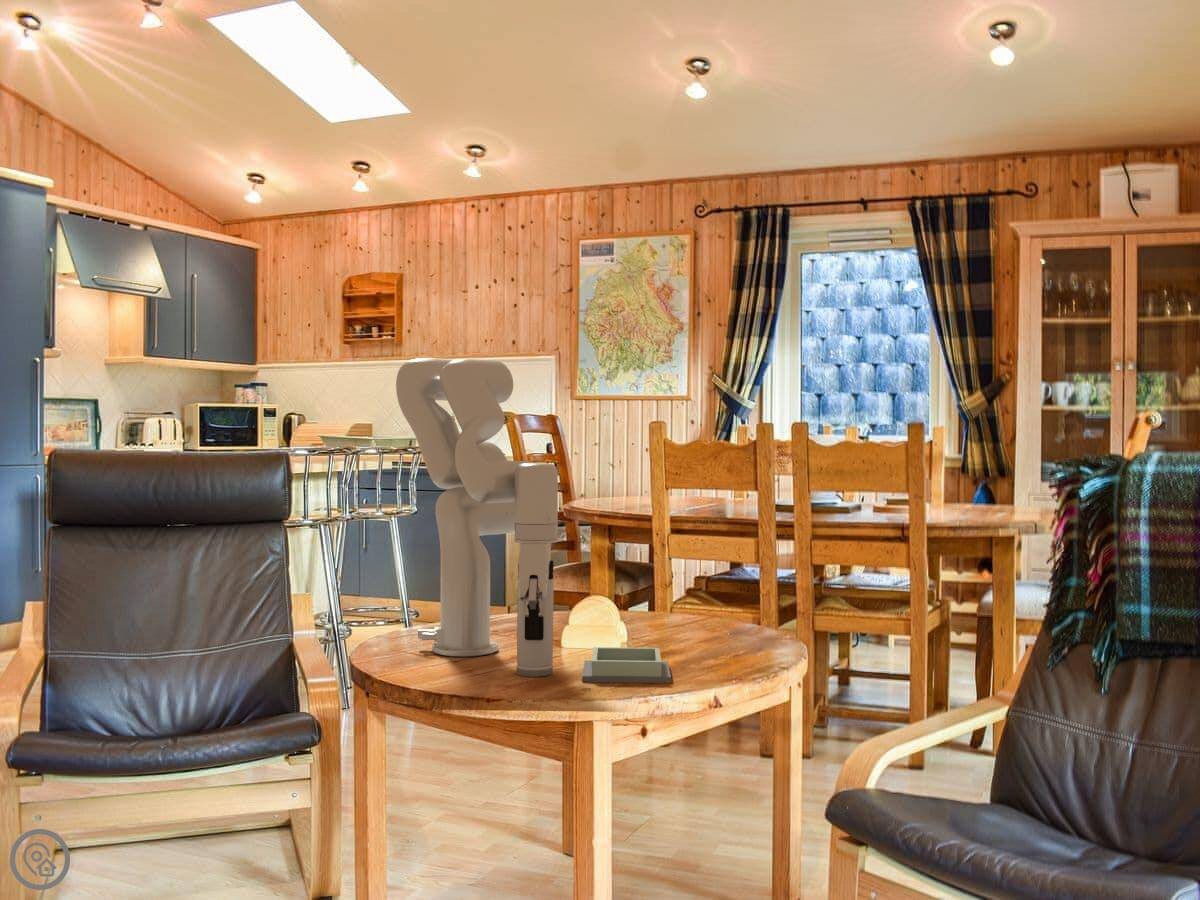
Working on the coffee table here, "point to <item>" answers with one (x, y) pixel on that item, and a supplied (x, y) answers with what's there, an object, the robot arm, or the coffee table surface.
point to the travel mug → (536, 653)
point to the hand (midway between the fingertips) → (535, 635)
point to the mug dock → (626, 666)
